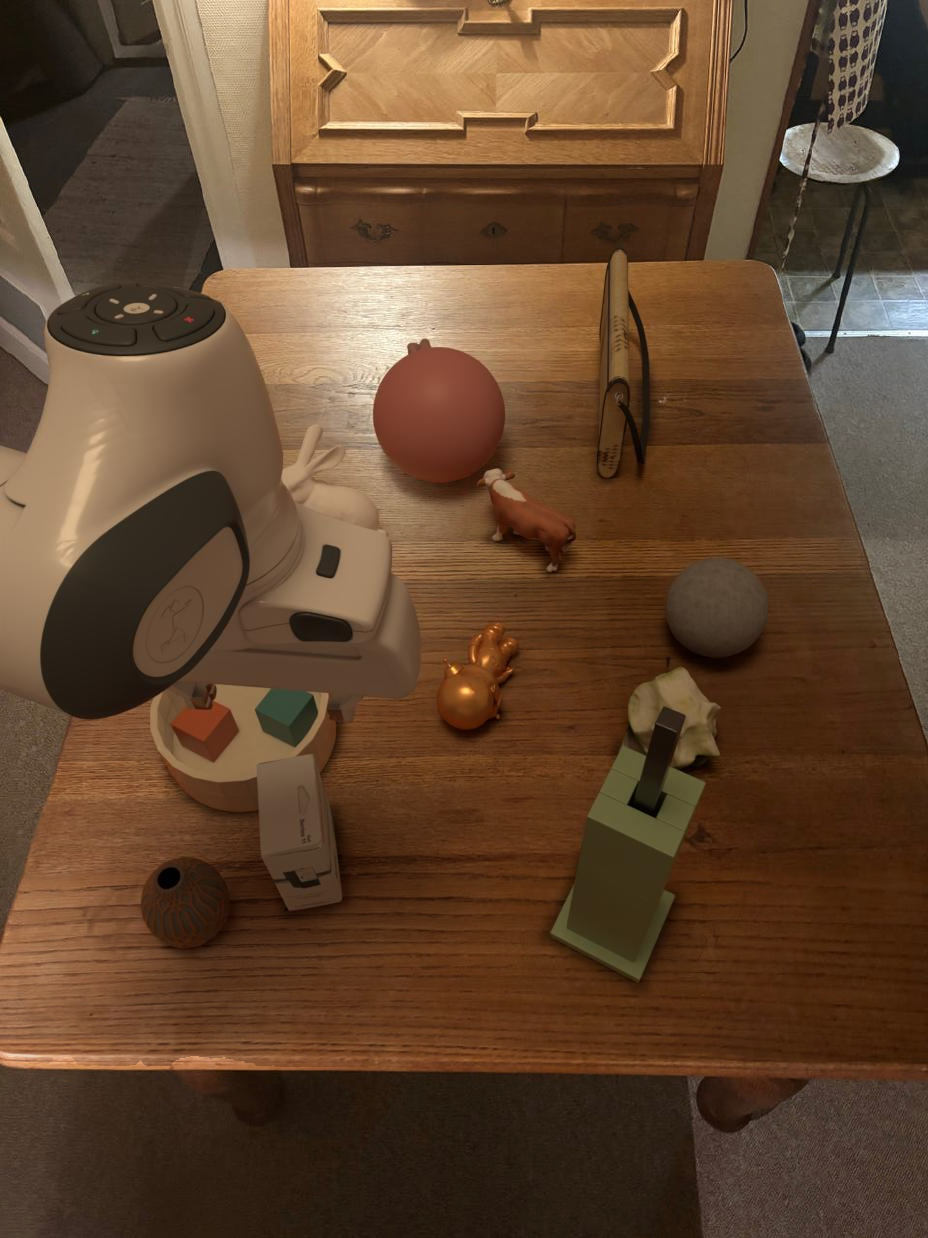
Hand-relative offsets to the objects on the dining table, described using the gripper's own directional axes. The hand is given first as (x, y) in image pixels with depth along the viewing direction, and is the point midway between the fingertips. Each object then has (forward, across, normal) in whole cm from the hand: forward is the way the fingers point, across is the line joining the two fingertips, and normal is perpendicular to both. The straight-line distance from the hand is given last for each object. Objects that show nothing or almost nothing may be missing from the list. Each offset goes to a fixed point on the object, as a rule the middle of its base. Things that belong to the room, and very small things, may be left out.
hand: (273, 706), depth 60 cm
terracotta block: (+26, -14, +12) cm, 31 cm away
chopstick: (+12, +25, -2) cm, 28 cm away
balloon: (+26, +3, +55) cm, 61 cm away
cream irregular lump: (+26, +30, +16) cm, 44 cm away
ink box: (+27, -2, 0) cm, 27 cm away
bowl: (+26, -10, +13) cm, 31 cm away
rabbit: (+27, -8, +40) cm, 48 cm away
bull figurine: (+26, +14, +40) cm, 50 cm away
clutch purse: (+26, +26, +65) cm, 75 cm away
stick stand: (+26, +25, -2) cm, 36 cm away
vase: (+27, -10, -6) cm, 29 cm away
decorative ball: (+26, +34, +29) cm, 52 cm away
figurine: (+27, +11, +20) cm, 35 cm away
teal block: (+26, -6, +14) cm, 30 cm away
